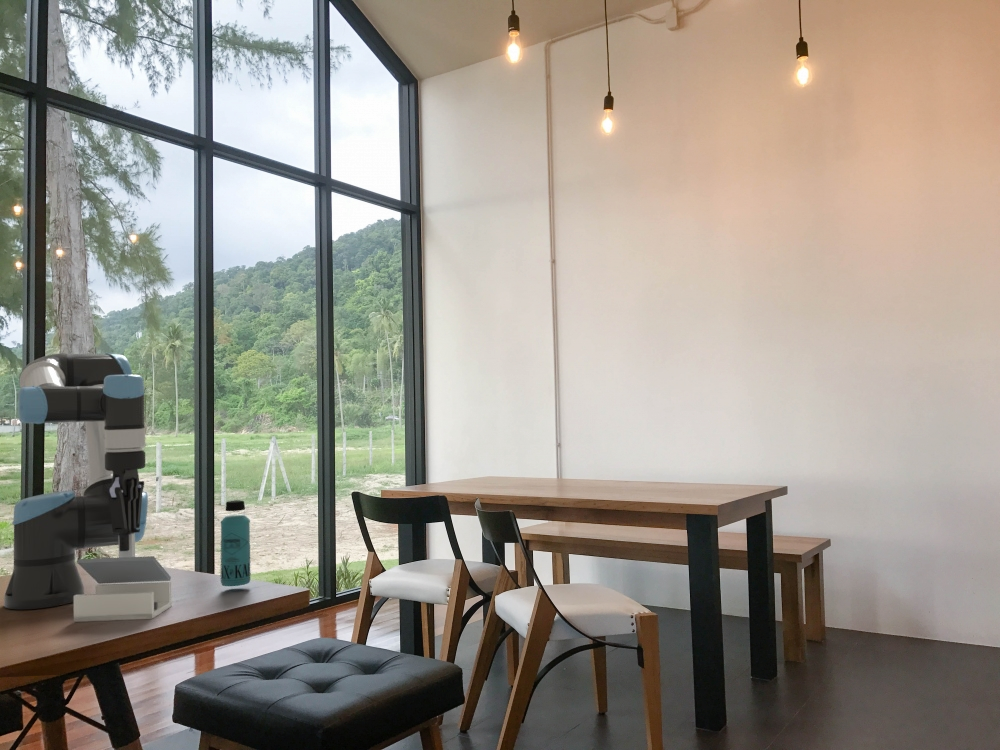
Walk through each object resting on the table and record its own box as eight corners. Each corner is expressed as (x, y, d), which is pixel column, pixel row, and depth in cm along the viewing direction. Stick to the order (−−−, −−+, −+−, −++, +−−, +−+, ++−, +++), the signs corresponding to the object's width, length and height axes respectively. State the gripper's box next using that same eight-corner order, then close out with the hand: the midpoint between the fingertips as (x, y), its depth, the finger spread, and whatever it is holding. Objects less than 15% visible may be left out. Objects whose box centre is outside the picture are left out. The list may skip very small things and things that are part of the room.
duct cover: (98, 583, 164) (99, 579, 165) (170, 580, 165) (170, 577, 165) (77, 562, 156) (78, 559, 156) (152, 560, 156) (153, 556, 157)
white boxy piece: (98, 609, 164) (97, 584, 164) (171, 606, 165) (171, 581, 165) (73, 621, 154) (73, 596, 154) (152, 618, 155) (151, 592, 155)
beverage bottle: (220, 588, 180) (218, 500, 181) (250, 585, 182) (249, 498, 183) (221, 594, 174) (219, 503, 175) (252, 591, 176) (251, 500, 177)
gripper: (120, 448, 168) (122, 560, 168) (91, 453, 156) (93, 574, 155) (156, 447, 169) (158, 559, 168) (130, 451, 156) (132, 572, 155)
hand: (127, 566), depth 161 cm, fingers closed
